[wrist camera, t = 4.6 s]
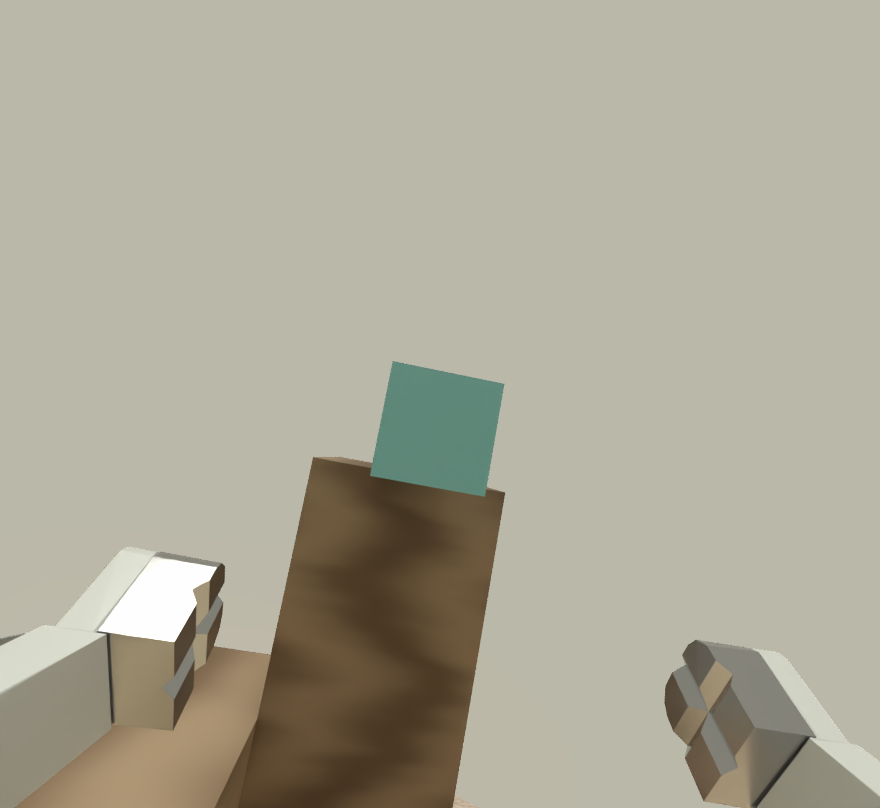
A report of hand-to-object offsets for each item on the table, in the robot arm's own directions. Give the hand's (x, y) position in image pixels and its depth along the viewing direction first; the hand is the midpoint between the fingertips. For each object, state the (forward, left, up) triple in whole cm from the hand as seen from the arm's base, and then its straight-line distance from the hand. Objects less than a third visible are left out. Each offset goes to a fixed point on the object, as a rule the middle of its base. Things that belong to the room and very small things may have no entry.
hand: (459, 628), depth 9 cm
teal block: (-1, +14, +2) cm, 14 cm away
